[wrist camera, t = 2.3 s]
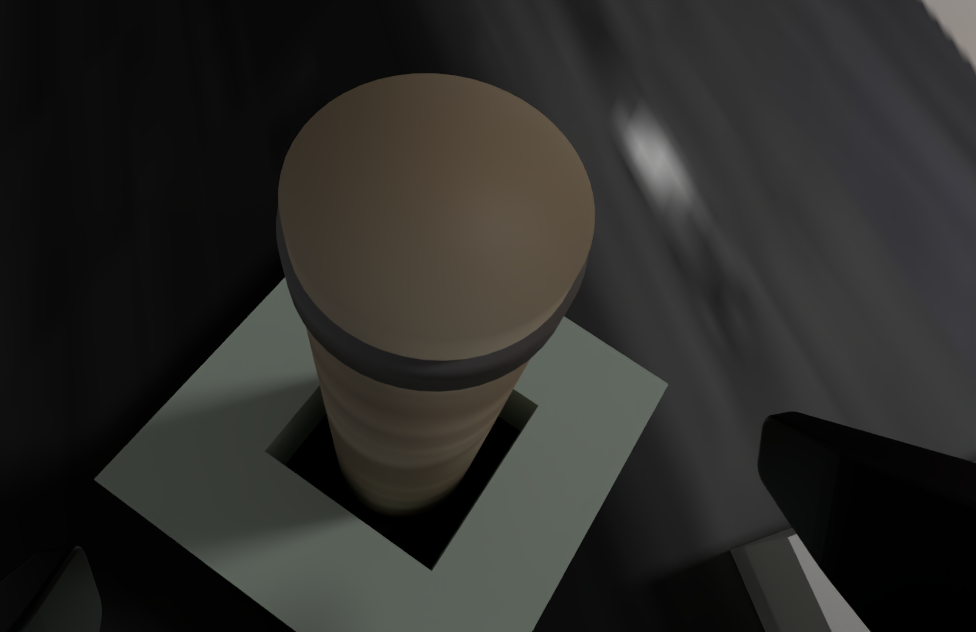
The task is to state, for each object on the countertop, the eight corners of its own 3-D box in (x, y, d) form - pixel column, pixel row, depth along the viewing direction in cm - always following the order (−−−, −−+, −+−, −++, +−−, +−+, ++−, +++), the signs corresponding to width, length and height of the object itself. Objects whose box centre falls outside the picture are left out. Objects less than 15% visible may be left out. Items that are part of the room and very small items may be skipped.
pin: (420, 550, 18) (491, 420, 7) (305, 468, 18) (192, 217, 7) (496, 435, 20) (656, 175, 8) (389, 362, 20) (404, 20, 9)
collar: (450, 739, 16) (462, 757, 14) (130, 498, 17) (94, 479, 15) (636, 410, 20) (668, 384, 18) (368, 234, 22) (367, 189, 19)
